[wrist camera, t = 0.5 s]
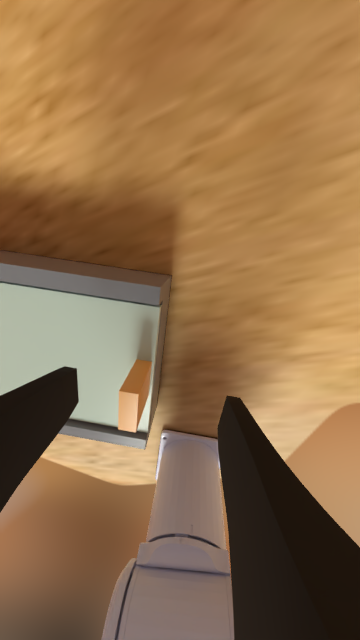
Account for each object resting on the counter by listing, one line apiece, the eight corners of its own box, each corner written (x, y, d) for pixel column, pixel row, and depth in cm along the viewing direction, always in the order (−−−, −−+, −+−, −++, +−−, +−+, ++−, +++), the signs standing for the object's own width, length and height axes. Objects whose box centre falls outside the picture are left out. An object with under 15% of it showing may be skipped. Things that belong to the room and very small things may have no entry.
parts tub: (157, 404, 23) (145, 449, 18) (18, 380, 23) (-32, 416, 18) (172, 275, 17) (160, 287, 12) (-10, 248, 18) (-92, 249, 13)
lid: (149, 427, 18) (135, 475, 14) (-23, 396, 19) (-80, 434, 15) (161, 305, 14) (146, 327, 10) (-64, 270, 14) (-159, 278, 10)
